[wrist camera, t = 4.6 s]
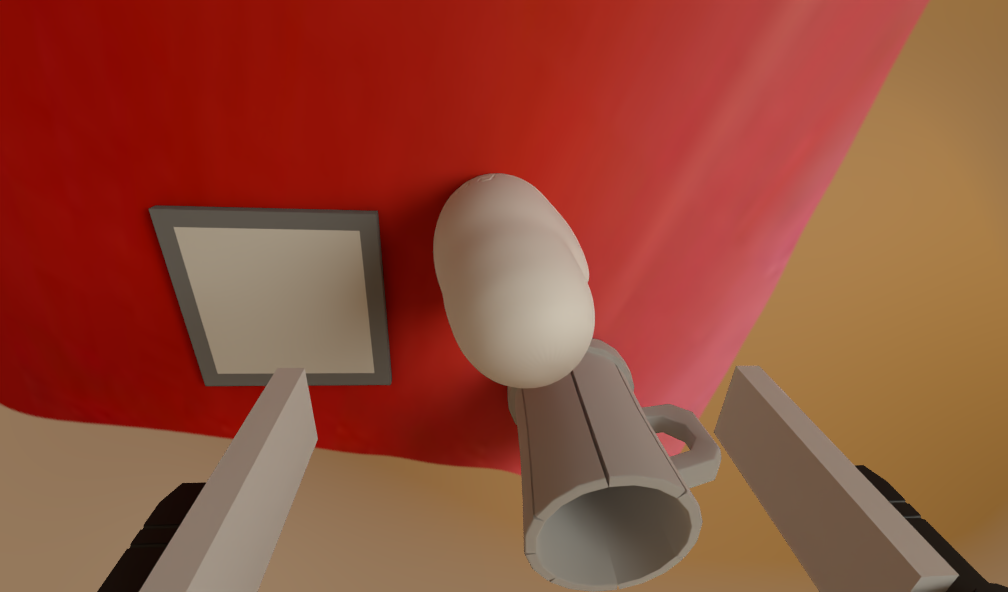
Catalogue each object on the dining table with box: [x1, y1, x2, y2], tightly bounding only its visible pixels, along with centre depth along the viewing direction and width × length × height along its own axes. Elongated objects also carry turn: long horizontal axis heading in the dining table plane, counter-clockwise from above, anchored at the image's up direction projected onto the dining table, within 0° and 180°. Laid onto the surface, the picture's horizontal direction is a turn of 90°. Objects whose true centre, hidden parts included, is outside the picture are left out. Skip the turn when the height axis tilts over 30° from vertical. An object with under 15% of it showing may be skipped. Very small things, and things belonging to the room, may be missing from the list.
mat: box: [149, 206, 392, 386], centre depth 28 cm, size 12×12×1 cm
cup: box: [507, 338, 721, 592], centre depth 28 cm, size 10×9×12 cm
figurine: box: [433, 173, 595, 388], centre depth 22 cm, size 7×8×12 cm
